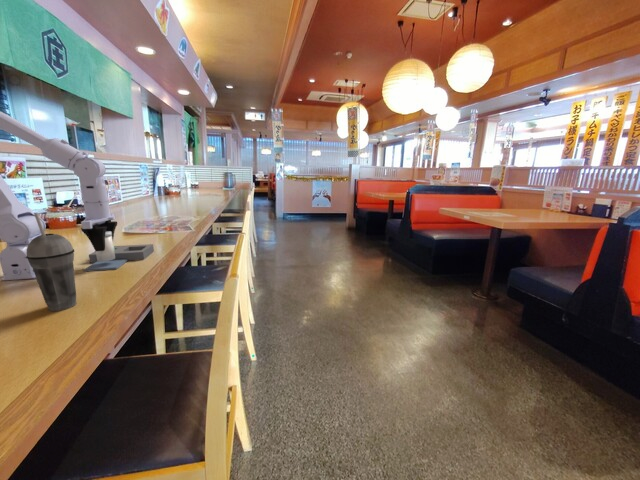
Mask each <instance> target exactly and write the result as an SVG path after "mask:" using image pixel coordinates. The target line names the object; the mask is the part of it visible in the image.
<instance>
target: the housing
mask: <svg viewBox="0 0 640 480" xmlns="http://www.w3.org/2000/svg"><path fill="white" fill-rule="evenodd" d="M113 246H114V248H115V250H114V252H115V259H113V260H121V259H128V261H142V260H143V261H144V260H146V259H147V258H148V257H150V255H152V254H153V253H154V252H155V248H154V244H151V243H150V244H132V245H131V244H130V245H128V244H127V245H126V244H125V245H113ZM88 260H89V263H92V264H94V263H95V262H97V257H96V251H95V250H94V252H91V253H90V254H89V253H88Z"/></svg>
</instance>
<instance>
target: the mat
mask: <svg viewBox="0 0 640 480" xmlns="http://www.w3.org/2000/svg"><path fill="white" fill-rule="evenodd" d="M127 262H129V260H128V259H121V260H109V261H97V262H93V263H92V264H91V265H89V266H87V267H86V268H84V272H97V271H110V270H111V271H113V270H118V269H119V268H120V267H122V266H123V265H125V263H127Z"/></svg>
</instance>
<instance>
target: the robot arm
mask: <svg viewBox="0 0 640 480" xmlns="http://www.w3.org/2000/svg"><path fill="white" fill-rule="evenodd" d="M0 130H1V131H4V132H5V133H7V134H10V135H12V136H14V137H16V138H18V139H20V140H22V141H24V142H26V143H28V144H30V145H31V146H34V147H36V148H38V149H40V151H41V153H42V155H43V157H45V158H47V159H49V160H50V161H53V162H54V163H56V164H58V165H60V166H61V167H64V168H65V169H68V170H69V171H71V172H72V171H73V173H74V174H75V176H76V177H78V181H79V187H80V188H79V189H80V192H81V197H82V198H81V199H82V202H83V203H82V204H83V208H84V213H85V218H84V220H82V221H80V223H81V228H80V230H81V232H82V233H83V234H84V235H85V236H86V237H87V238H88V240H89V241H90V243H91V245H92V247H93V250H94V252H95V251H104V250H105V233H106V231H111V232H112V240H113V241H114V237H115V236H114V235H115V231H116V228H117V226H118V221H115V220H117V219H116V216H115V213H111V209H110V202H109V196H108V191H107V185H106V181H105V174H106V171H107V168H106V166H105V164H104V163H103V161H101V160H100V159H98V158H97V157H91V156H90V157H89V153H88V152H86V151H81V150H79V149H77V148H76V147H74V146H72V145H70V142H69V141H67V140H65V139H63V138H62V139H59V138H56V137H55V138H48V137H46V136H44V134H43V135H42V134H41V133H39V132H37V131H36V130H34V129H32V128H31V127H29V126H27V125H26V124H24V123H22V122H21V121H19V120H17V119H15V118H14V117H12V116H10V115H9V114H7V113H4V112H3V111H0ZM34 213H35V212H33V210H32V209H31V208H30V207H28V206H26V205H24V204H22V203H21V202H20V200H19V199H18V197H17V196H16V195H15V193H14V191H12V189H11V188H10V186H9V185H8V183H7V182H6V180H5V179H4V177H3V176H2V175H1V174H0V239H1V240H2V241H4V242H5V244H6V247H5V248H4V249H2V250H0V265H1V271H2V273H3V277H1V278H0V281H9V280H10V281H12V280H13V281H14V280H28V279H37V278H36V276H35V273H34V270H33V268H32V267H31V265H30V263H29V261H28V259H27V258H26V256H27V247H28V245H29V243H30V242H31V241H32V240H33V239H34V238H35V237H37V236H39V235H42V234H41V232H40V229H39V226H38V223H37V220H36V218H35V215H34ZM39 218H40V221H41V224H42V227H43V230H44V232H45V231H46V227H47V225H46V223H45V222H46V221H45V220H43V218H42V217H41V216H39Z"/></svg>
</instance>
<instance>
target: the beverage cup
mask: <svg viewBox="0 0 640 480" xmlns="http://www.w3.org/2000/svg"><path fill="white" fill-rule="evenodd" d="M33 213H34V215H35V218H36V220H37V223H38V226H39V229H40V232H41V234H42V235H39V236H37V237H35V238H34V239H33V240H32V241H31V242H30V243H29V245H28V247H27V256H26V258H27V259H28V261H29V263H30V265H31V267H32V268H33V270H34V273H35V276H36V278H35V279H36V281H37V284H38V286H39V289H40V291H41V294H42V297H43V299H44V302H45V304H46V306H47V308H48V309H47V310H48V311H49V312H59V311H60V312H61V311H64V310H68V309H71V308H73V307H75V306H76V305H77V288H76V279H75V267H74V266H75V265H74V260H75V259H74V258H75V249H74V248H73V245H72V243H71V241H70V240H69V239H67V238H66V237H64V236H63V235H60V234H57V233H45V231H44V230H43V227H42V224H41V221H40V218H41V217H40V216H39V214H38V212H33ZM39 217H40V218H39Z"/></svg>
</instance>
